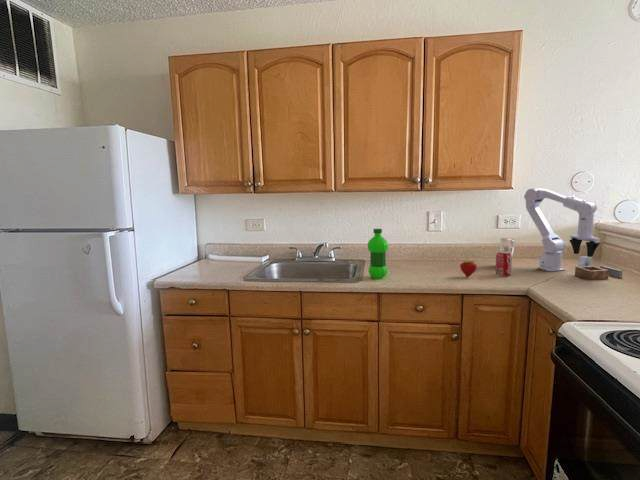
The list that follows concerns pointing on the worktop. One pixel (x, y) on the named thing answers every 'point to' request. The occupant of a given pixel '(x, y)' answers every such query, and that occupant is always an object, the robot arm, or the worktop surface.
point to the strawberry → (468, 268)
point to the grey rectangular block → (585, 261)
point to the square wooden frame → (591, 272)
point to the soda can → (503, 263)
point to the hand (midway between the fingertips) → (583, 255)
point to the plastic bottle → (378, 255)
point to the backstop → (613, 271)
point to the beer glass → (507, 245)
